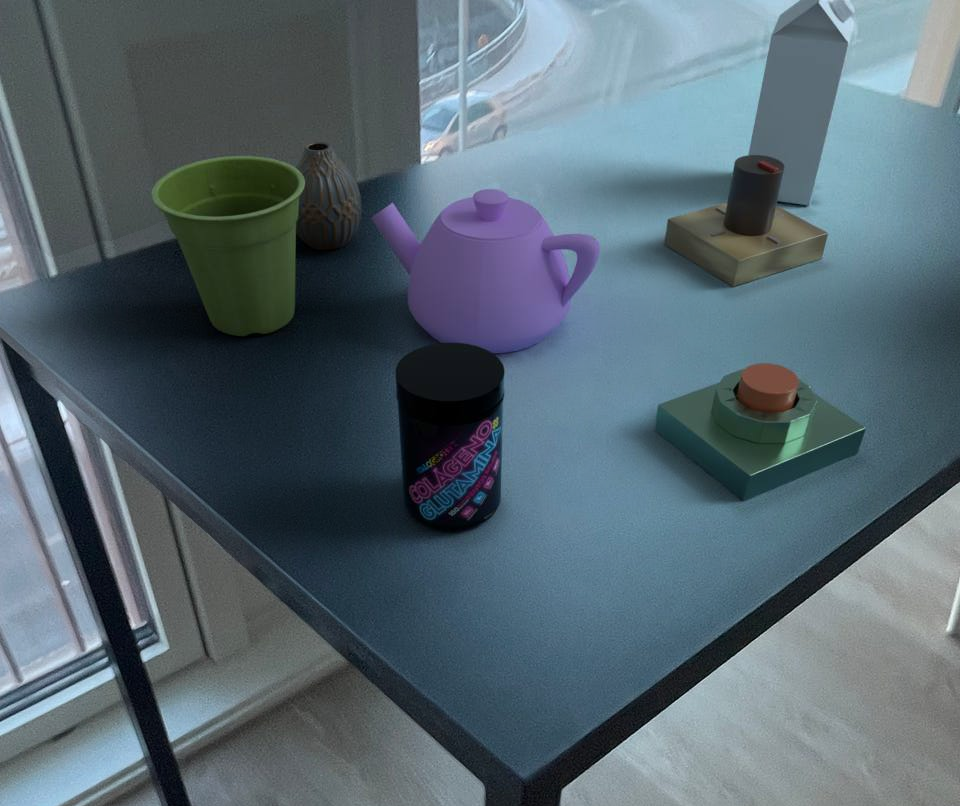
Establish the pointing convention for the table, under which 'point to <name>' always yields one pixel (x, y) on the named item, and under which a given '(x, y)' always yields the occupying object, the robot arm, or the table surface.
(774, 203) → the dial
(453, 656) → the table surface
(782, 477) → the button housing
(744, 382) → the push button
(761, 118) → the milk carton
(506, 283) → the teapot
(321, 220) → the vase
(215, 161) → the plant pot
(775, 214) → the dial panel
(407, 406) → the supplement container
